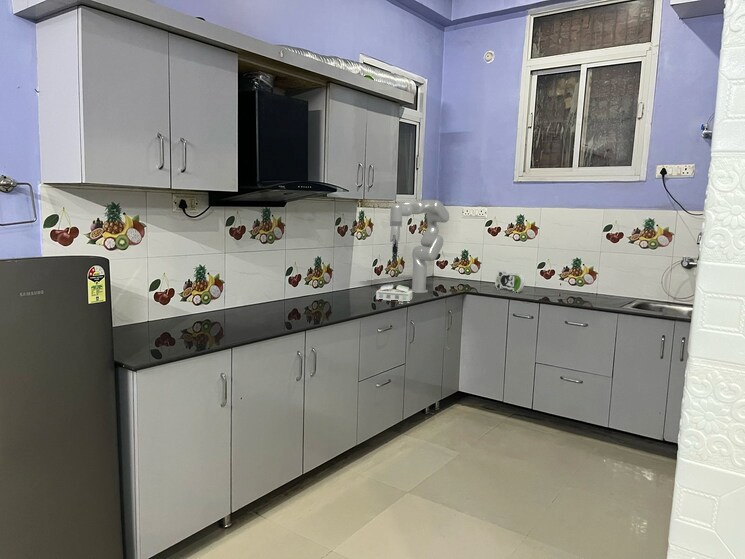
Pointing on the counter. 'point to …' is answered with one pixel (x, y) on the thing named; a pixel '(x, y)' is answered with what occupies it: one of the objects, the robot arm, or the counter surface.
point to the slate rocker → (386, 287)
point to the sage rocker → (402, 288)
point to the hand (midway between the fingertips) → (394, 252)
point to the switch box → (394, 295)
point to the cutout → (509, 281)
